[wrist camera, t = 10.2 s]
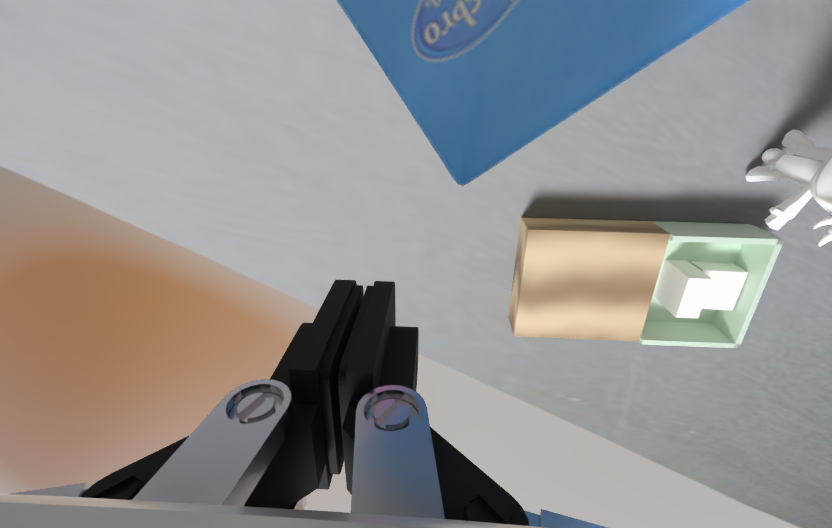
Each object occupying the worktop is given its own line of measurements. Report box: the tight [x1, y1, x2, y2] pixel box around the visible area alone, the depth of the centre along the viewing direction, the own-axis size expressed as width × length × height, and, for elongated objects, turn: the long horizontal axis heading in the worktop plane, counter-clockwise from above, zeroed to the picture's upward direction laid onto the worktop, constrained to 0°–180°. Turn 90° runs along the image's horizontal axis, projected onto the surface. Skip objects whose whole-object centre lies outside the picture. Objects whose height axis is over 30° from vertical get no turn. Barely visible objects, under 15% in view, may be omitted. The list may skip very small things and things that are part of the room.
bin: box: [640, 221, 784, 348], centre depth 38 cm, size 11×9×4 cm
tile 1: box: [654, 260, 712, 319], centre depth 37 cm, size 4×4×2 cm
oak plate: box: [508, 217, 670, 341], centre depth 38 cm, size 11×12×4 cm
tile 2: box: [690, 261, 748, 311], centre depth 38 cm, size 4×4×2 cm
